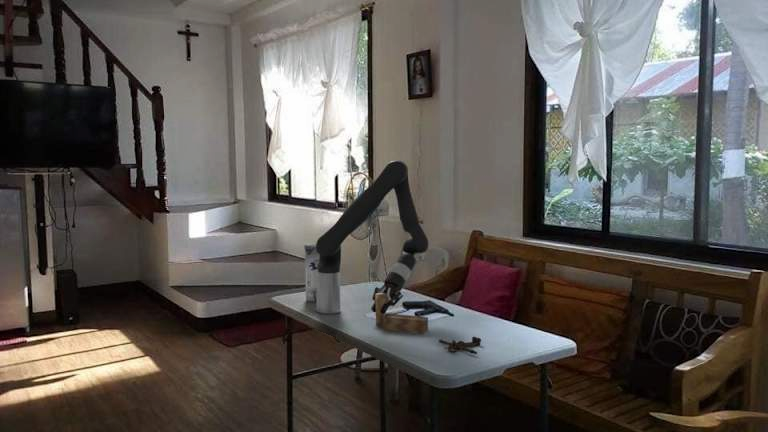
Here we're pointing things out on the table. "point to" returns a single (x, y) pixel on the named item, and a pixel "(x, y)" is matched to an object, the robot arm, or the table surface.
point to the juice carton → (311, 271)
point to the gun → (425, 307)
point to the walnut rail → (406, 323)
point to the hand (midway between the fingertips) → (377, 311)
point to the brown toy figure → (462, 345)
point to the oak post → (379, 303)
